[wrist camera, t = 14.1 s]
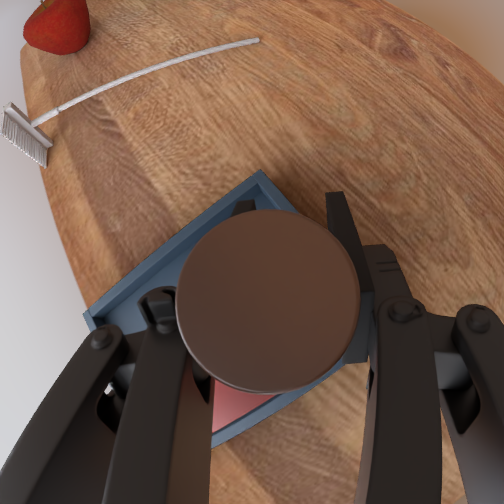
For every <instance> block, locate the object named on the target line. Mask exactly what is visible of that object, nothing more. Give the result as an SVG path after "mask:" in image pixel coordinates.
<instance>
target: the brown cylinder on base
mask: <svg viewBox="0 0 504 504" xmlns="http://www.w3.org/2000/svg"><path fill="white" fill-rule="evenodd" d="M360 302H361V298H360V286H359V282H358V277H357V273H356V271H355V268H354V265H353V262H352V261H351V259H350V257H349V255H348V253H347V251H346V250H345V249H344V247H343V246H342V244H341V243H340V242H339V241H338V240H337V238H336V237H335V236H334V235H333V234H332V233H331V232H329V231H328V230H327V229H326V228H324V227H323V226H322V225H320V224H319V223H317V222H315V221H314V220H312V219H310V218H308V217H305V216H303V215H301V214H298V213H294V212H291V211H285V210H279V209H262V210H253V211H249V212H245V213H241V214H238V215H236V216H233V217H231V218H229V219H227V220H225V221H223V222H221V223H220V224H218V225H217V226H215V227H214V228H212V229H211V230H210V231H209V232H208V233H206V234H205V235H204V236H203V237H202V238H201V239H200V240H199V242H198V243H197V244H196V245H195V246H194V248H193V249H192V251H191V252H190V254H189V255H188V257H187V259H186V261H185V263H184V265H183V267H182V270H181V273H180V275H179V279H178V283H177V288H176V296H175V310H176V318H177V323H178V327H179V331H180V334H181V336H182V339H183V341H184V344H185V345H186V347H187V349H188V351H189V353H190V354H191V356H192V357H193V358H194V360H195V361H196V362H197V363H198V364H199V366H200V367H201V368H202V369H203V370H204V371H205V372H207V373H208V374H209V375H210V376H212V377H213V378H214V379H215V392H214V408H213V425H212V433H213V432H215V431H217V430H219V429H221V428H222V427H224V426H226V425H228V424H229V423H231V422H233V421H234V420H236V419H238V418H240V417H241V416H243V415H245V414H246V413H248V412H249V411H251V410H253V409H254V408H256V407H258V406H259V405H261V404H262V403H264V402H266V401H267V400H269V399H270V398H272V397H273V396H275V395H276V394H283V393H288V392H291V391H295V390H298V389H300V388H303V387H305V386H307V385H309V384H311V383H313V382H315V381H316V380H318V379H319V378H321V377H322V376H323V375H325V374H326V373H327V372H328V371H329V370H331V369H332V368H333V367H334V365H335V364H336V363H337V362H338V361H339V360H340V359H341V357H342V356H343V354H344V353H345V351H346V350H347V348H348V346H349V345H350V343H351V341H352V339H353V336H354V333H355V331H356V328H357V324H358V320H359V315H360Z"/></svg>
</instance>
